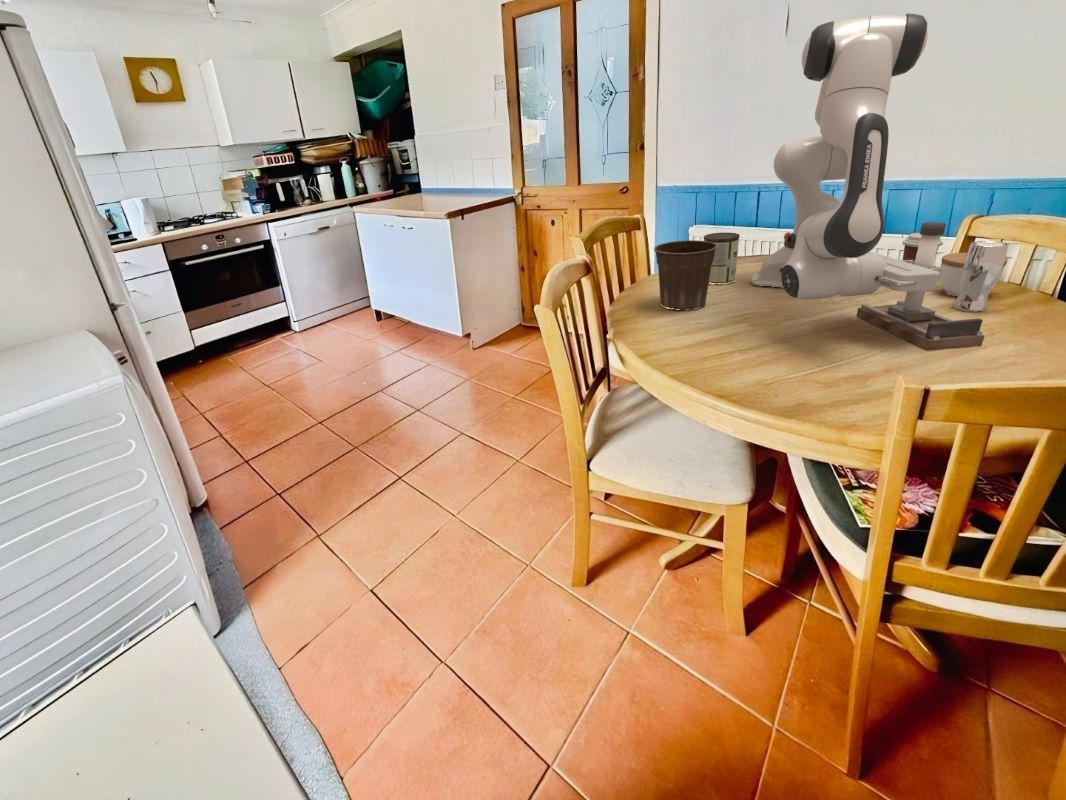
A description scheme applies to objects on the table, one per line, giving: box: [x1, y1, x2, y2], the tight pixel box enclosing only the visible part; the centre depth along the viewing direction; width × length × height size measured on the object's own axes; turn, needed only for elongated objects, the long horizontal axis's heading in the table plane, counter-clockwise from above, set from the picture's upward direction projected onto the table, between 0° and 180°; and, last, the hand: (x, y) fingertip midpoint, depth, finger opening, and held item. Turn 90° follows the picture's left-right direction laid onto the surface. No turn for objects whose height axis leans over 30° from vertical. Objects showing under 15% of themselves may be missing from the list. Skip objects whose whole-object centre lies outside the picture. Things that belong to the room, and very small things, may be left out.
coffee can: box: [703, 232, 740, 283], centre depth 156 cm, size 10×10×14 cm
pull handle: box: [887, 221, 947, 322], centre depth 107 cm, size 6×6×20 cm
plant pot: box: [653, 239, 718, 310], centre depth 137 cm, size 16×16×16 cm
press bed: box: [856, 300, 986, 351], centre depth 110 cm, size 23×11×5 cm, turn 2°
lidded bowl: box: [938, 252, 1008, 298], centre depth 126 cm, size 13×13×11 cm
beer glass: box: [952, 240, 1010, 313], centre depth 116 cm, size 7×7×15 cm
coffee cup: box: [902, 232, 944, 261], centre depth 142 cm, size 9×9×12 cm
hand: (926, 267), depth 107 cm, fingers open, 5 cm apart
